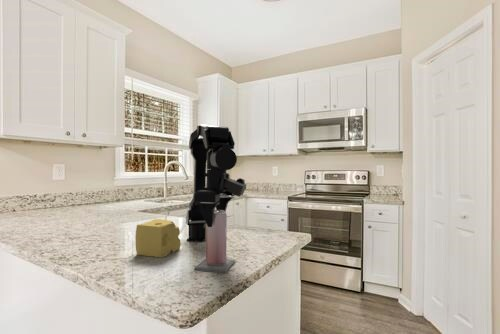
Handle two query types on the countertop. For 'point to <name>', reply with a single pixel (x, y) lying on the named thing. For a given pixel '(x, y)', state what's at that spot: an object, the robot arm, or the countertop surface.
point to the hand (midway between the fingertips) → (216, 223)
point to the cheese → (157, 238)
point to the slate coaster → (220, 269)
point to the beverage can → (216, 239)
